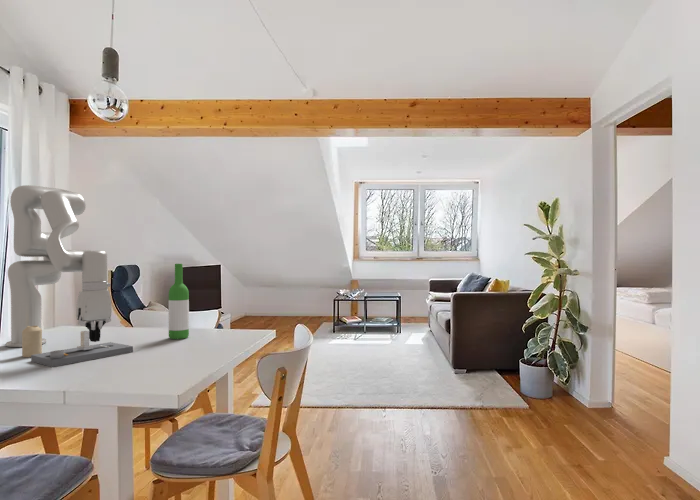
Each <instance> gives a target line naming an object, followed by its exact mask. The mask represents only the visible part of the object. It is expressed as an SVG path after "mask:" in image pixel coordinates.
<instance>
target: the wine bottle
mask: <svg viewBox="0 0 700 500" xmlns="http://www.w3.org/2000/svg"><path fill="white" fill-rule="evenodd" d="M183 267H184V266H183V263H175V264H174V283H173V284H172V285H171V286H170V288H169V290H168V338H169V339H170V340H183V339H187V338H189V335H190V331H189V330H190V301H189V300H190V299H189V298H190V297H189V296H190V294H189V293H190V291H189V289H188V287H187V286H186V284H184V280H183V278H184V277H183V276H184V275H183Z"/></svg>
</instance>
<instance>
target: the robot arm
mask: <svg viewBox="0 0 700 500" xmlns="http://www.w3.org/2000/svg"><path fill="white" fill-rule="evenodd" d="M86 205H87V204H86V201H85V198H84V197H83V196H82V194H80V193H78V192H74V191H70V190H66V189H61V188H54V187H47V186H40V185H19V186H16V187H15V188H14V189H13V190H12V192H11V195H10V208H11V211H12V216H13V251H14V253H15V254H16V255H17V256H18V257H23V258H24V257H25V258H38V257H39V258H40V257H41V258H43V259H40V260H38V259H36V260H35V259H33V260H31V259H30V260H18V261H15V262H12V263H11V264H9V265H10V266H9V267H8V269H7V277H8V282H9V287H10V333H11V334H10V341H7V342H6V343H5V346H6V347H7V348H8V347H9V348H22V331H23V330H24V329H25V328H26V327H27V326H38V327H39V328H41V329H42V295H41V293H40V291H39V289H37V288H36V286H44V285H54V284H56V283H58V282H59V281H60V279H61V277H62V273H78V272H79V273H82V274H81V291H79V293H78V297H77V302H76V310H75V311H76V314H75V318H76V321H77V326H83V327H85V328H87V330H88V331H89V342H93V343H97V342H100V341H101V330H102V329H103V327H104V325H105V324H107V323H110V322H111V321H112V318H111V317H112V315H113V312H112V311H113V309H112V299H111V294H110V290H108V288H109V287H111V283H110V282H108V254H107V252H106V251H105V250H91V249H90V250H89V249H85V250H84V249H66V250H65V249H64V247H63V244H62V240H61V239H63V238H66V237H68V236H70V235H72V234H74V233H76V232H77V231H78V229H79V228H80V224H79V221H78V219H77V216H79V215H82V214H84V212H85V210H86V207H87V206H86ZM36 210H43V212H44V214H45V217H46V218H47V219H46V220H47V221H48V223H49V226H50V228H51V230H52V231H51V232H45V231H43V232H42V220H41V217H40V215H39V214H38V212H37V211H36ZM46 343H47V339H46V338H43V337H42V345H43V344H46Z"/></svg>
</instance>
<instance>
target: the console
mask: <svg viewBox="0 0 700 500" xmlns="http://www.w3.org/2000/svg"><path fill="white" fill-rule="evenodd" d="M89 346H93V349H89V350H80V349H77V347H73V348H67V349H60V350H52V351H48V352H42V353H41V354H34V355H31V357H30V361H31V362H32V363H36V364H40V365H44V366H47V367H51V368H55V367H60V366H64V365H71V364H76V363H81V362H86V361H90V360H91V361H92V360H97V359H103V358H107V357H108V358H109V357H113V356H119V355H124V354H129V353H130V354H131V353H133V352H134V346H133V345H129V344H122V343H118V342H112V341H110V342H103V343H96V344H92V345H90V344H89Z"/></svg>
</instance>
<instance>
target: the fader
mask: <svg viewBox="0 0 700 500" xmlns="http://www.w3.org/2000/svg"><path fill="white" fill-rule="evenodd" d="M76 348H77V349H80V350H89V349H93V346H90V339H89V330H81V331H80V345H77V346H76Z"/></svg>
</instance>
